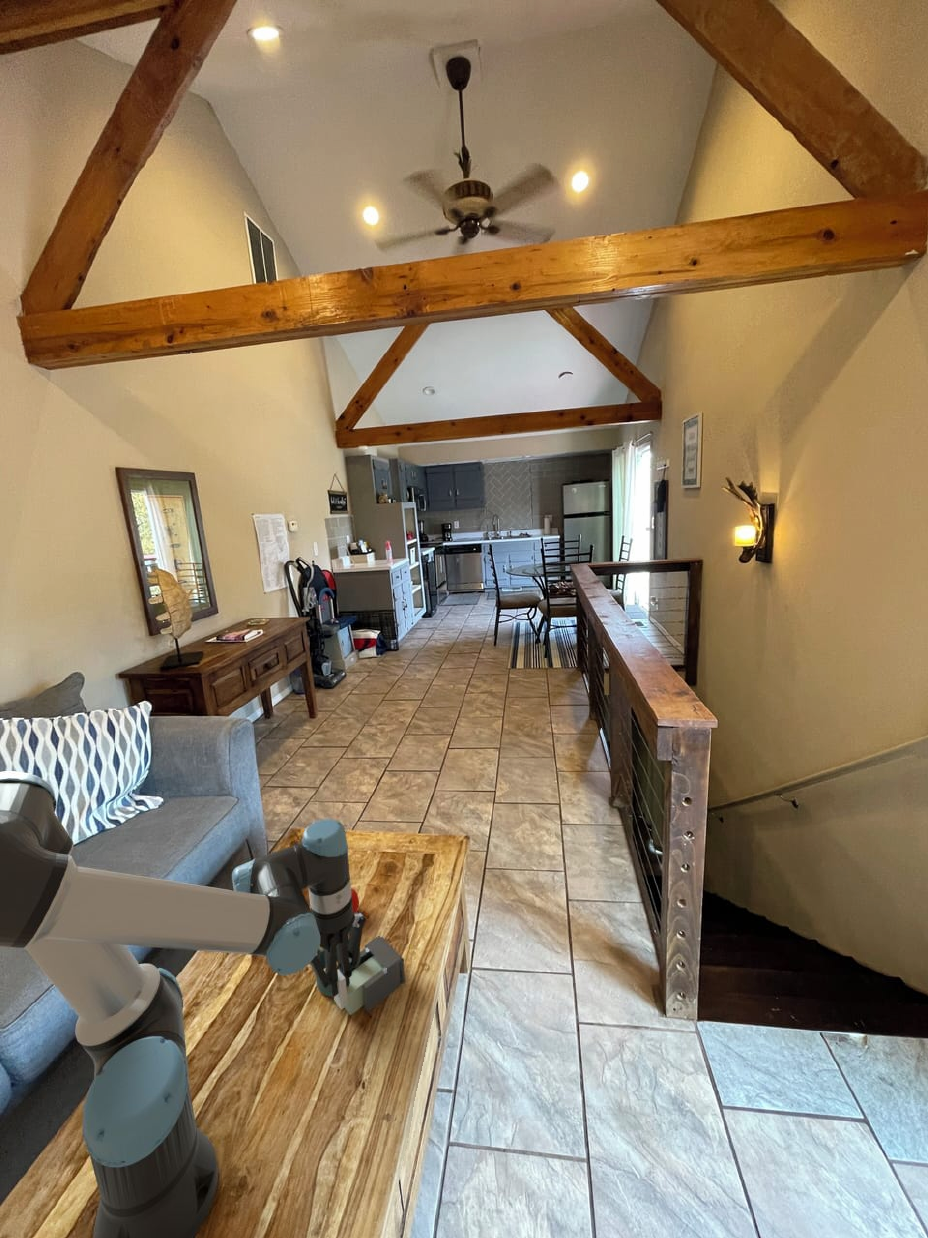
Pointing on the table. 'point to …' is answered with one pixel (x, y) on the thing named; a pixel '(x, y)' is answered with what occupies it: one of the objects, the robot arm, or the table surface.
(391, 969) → the endcap
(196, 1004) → the table surface
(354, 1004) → the block
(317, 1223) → the table surface
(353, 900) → the apple
